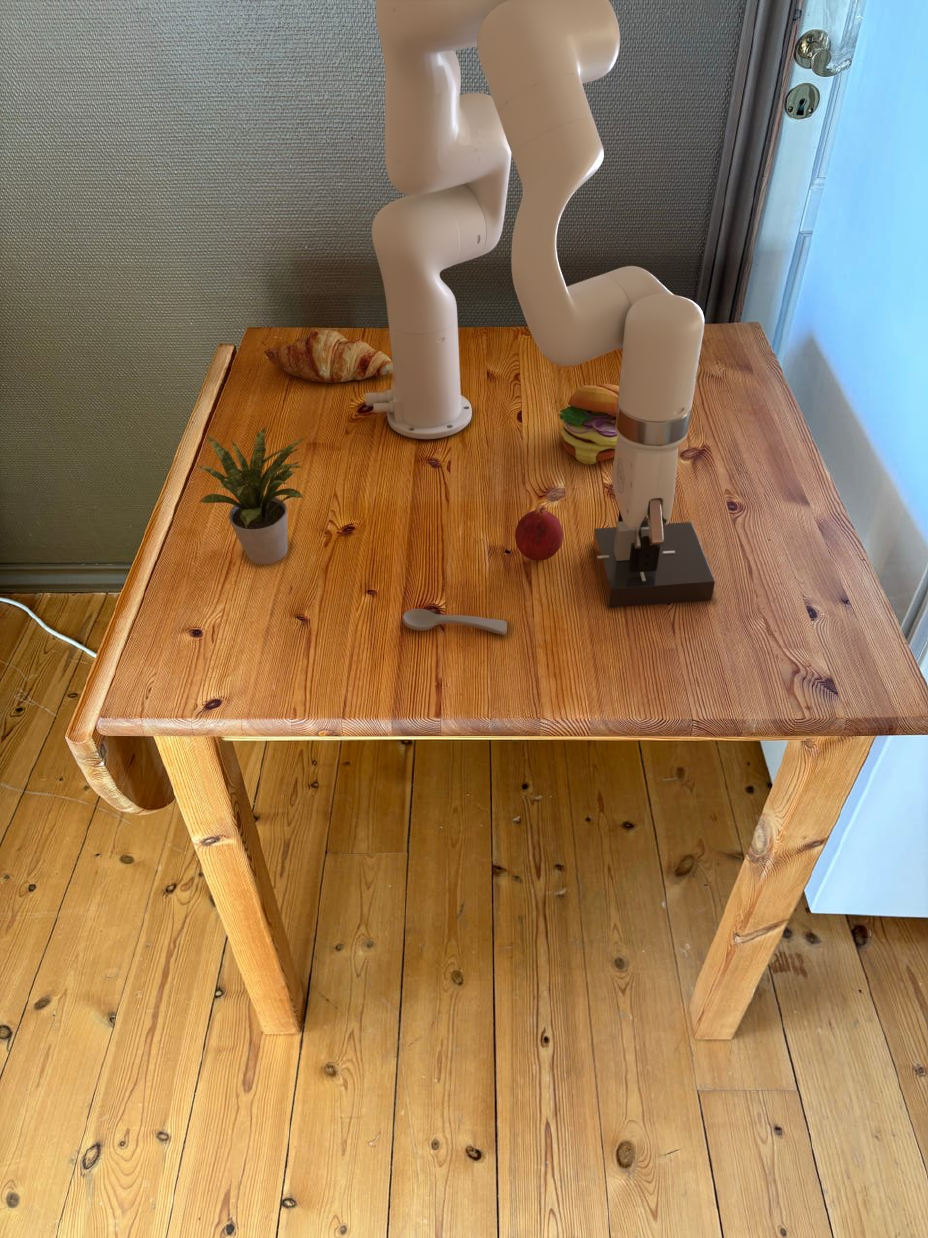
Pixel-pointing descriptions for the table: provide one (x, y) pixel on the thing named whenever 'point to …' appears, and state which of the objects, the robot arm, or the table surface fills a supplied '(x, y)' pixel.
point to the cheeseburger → (591, 423)
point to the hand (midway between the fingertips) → (636, 549)
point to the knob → (625, 540)
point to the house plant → (256, 499)
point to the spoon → (450, 621)
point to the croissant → (330, 358)
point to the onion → (539, 534)
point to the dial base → (672, 582)
